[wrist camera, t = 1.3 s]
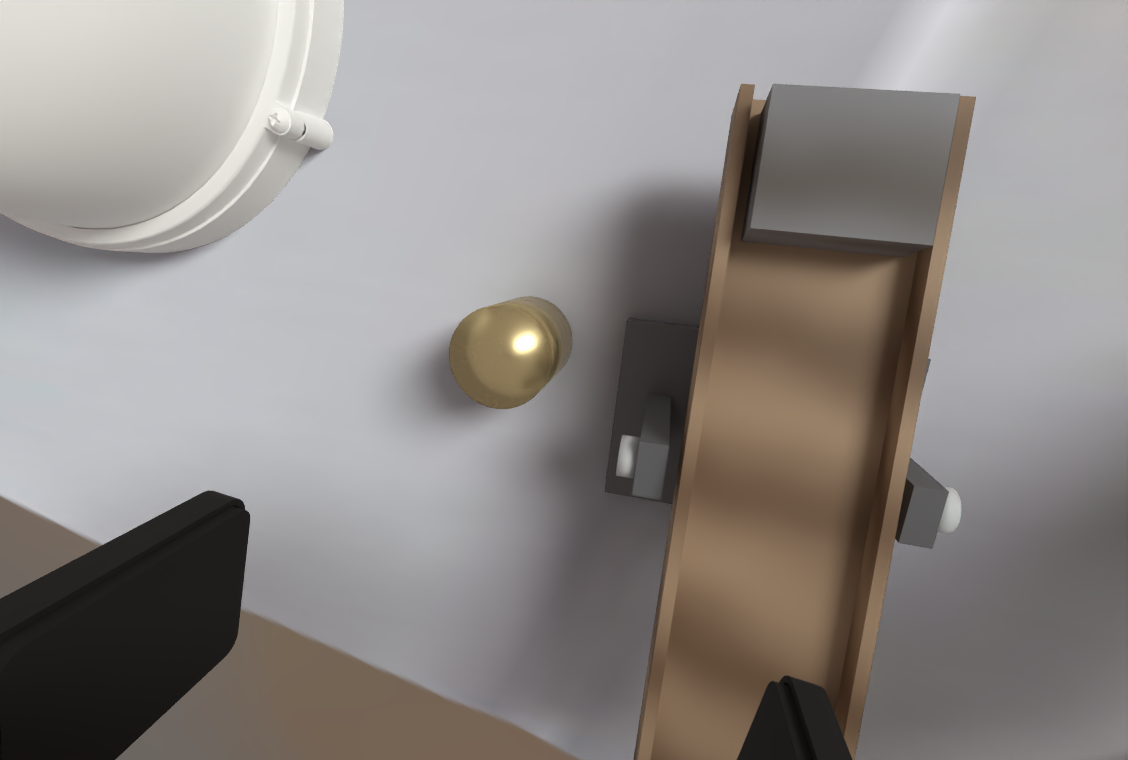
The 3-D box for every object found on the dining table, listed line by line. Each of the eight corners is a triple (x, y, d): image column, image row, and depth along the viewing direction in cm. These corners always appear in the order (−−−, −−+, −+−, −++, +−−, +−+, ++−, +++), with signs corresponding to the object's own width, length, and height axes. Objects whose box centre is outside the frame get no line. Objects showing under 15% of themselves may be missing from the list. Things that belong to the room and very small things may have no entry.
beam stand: (628, 318, 31) (609, 344, 22) (920, 355, 28) (1030, 401, 19) (607, 483, 33) (582, 567, 24) (874, 530, 31) (953, 642, 22)
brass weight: (547, 280, 31) (518, 287, 25) (587, 359, 32) (567, 382, 26) (474, 320, 33) (431, 335, 27) (514, 395, 33) (480, 424, 27)
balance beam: (731, 115, 23) (745, 67, 19) (936, 128, 22) (996, 80, 18) (630, 777, 26) (625, 855, 22) (811, 825, 24) (841, 917, 20)
